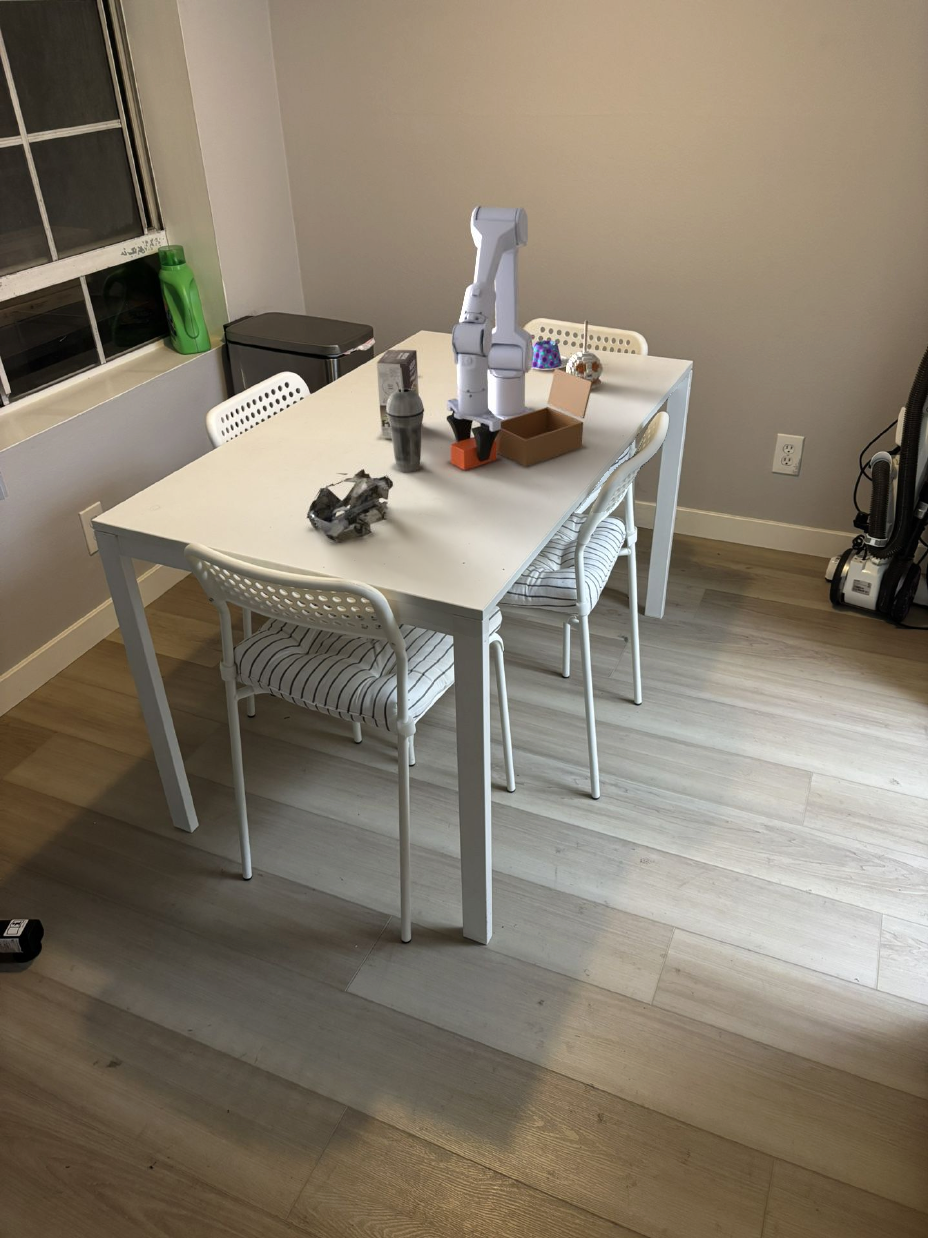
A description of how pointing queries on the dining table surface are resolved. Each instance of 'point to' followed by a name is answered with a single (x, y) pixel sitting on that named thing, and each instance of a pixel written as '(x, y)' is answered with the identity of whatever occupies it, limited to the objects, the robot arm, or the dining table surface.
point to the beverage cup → (406, 427)
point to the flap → (570, 393)
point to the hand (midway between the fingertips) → (473, 454)
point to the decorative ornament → (585, 363)
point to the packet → (469, 454)
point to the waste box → (538, 436)
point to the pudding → (547, 356)
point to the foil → (351, 508)
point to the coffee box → (395, 380)
